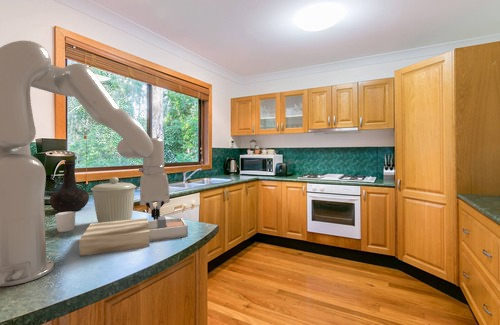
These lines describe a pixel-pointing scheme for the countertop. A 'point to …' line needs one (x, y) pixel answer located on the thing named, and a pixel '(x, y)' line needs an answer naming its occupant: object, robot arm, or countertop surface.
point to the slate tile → (161, 222)
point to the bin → (167, 230)
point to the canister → (113, 200)
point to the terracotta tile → (174, 224)
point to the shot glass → (65, 221)
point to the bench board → (114, 236)
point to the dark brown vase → (69, 192)
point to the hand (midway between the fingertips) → (155, 218)
